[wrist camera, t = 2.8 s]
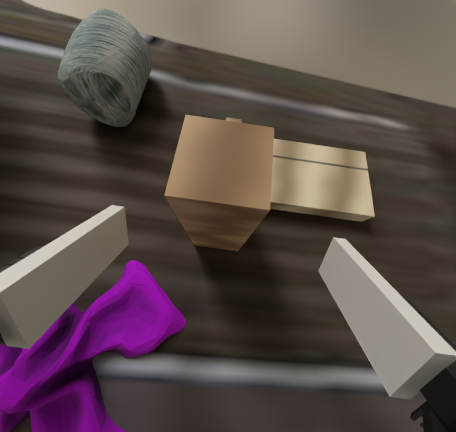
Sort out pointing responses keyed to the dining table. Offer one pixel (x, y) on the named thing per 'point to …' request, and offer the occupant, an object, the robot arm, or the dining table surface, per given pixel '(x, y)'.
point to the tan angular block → (221, 180)
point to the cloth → (83, 356)
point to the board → (320, 181)
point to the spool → (106, 68)
